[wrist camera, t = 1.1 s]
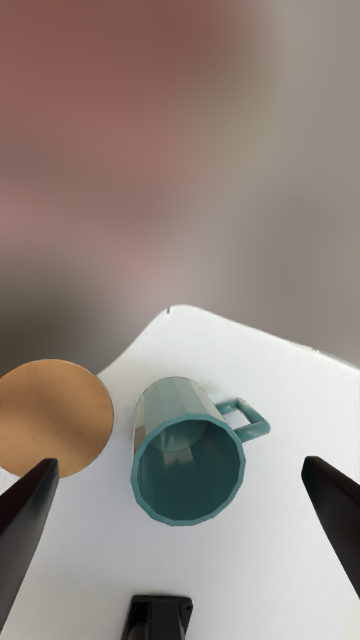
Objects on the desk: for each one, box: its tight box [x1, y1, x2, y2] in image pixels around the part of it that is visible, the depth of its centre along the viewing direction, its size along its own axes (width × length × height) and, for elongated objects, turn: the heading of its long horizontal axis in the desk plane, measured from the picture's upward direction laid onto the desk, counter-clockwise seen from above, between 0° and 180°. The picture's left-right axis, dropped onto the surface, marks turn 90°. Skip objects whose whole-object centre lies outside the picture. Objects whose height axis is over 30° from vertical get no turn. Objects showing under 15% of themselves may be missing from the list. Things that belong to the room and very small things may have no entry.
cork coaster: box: [0, 359, 113, 479], centre depth 21 cm, size 11×11×1 cm
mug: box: [130, 377, 270, 526], centre depth 19 cm, size 10×8×8 cm
